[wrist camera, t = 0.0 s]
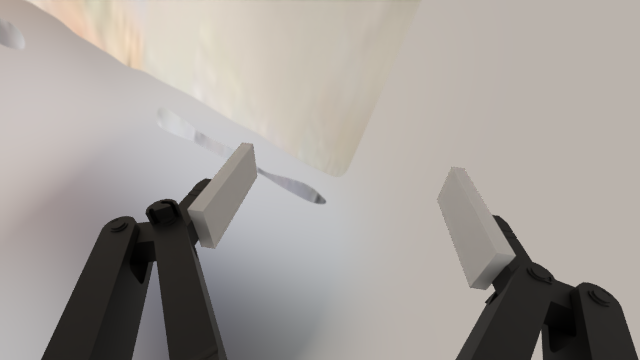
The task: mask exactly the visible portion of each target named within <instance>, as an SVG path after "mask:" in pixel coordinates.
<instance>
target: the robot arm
mask: <svg viewBox="0 0 640 360" xmlns="http://www.w3.org/2000/svg"><path fill="white" fill-rule="evenodd" d="M256 178H257V171H256V163H255V155H254V147H253V144H250V143H242V144H241V145H240V146H239V147H238V148H237V150H236V151H235V152H234V153H233V154H232V156H231V157H230V158H229V159H228V160H227V162H226V163H225V164H224V165H223V167H222V168H221V169H220V170H219V172H218V173H217V174H216V175H215V176H214V178H213V179H204V180H202V181H200V182H199V183H197V184H196V185H195V187H194V188H193V189H192V190H191V191H190V192H189V193H188V195H187V196H186V197H185V198H184V199H183V200H182V201H181V202H180V204H179V205H178V204H177V202H176V201H175V200H172V199H164V200H160V201H157V202H154V203H153V204H152V205H150V206H149V207H148V208H147V209H146V215H147V217H148V219H149V221H150V222H143V223H137V222H136V221H135V219H134V218H133V217H129V216H124V217H119V218H116V219H114V220H112V221H110V222H108V223H107V224H106V225H105V226H104V227H103V228H102V230H101V232H100V235H99V237H98V239H97V241H96V243H95V245H94V247H93V250H92V252H91V254H90V256H89V258H88V260H87V262H86V265H85V267H84V269H83V271H82V273H81V275H80V277H79V279H78V282H77V284H76V286H75V288H74V290H73V292H72V295H71V297H70V299H69V301H68V303H67V305H66V308H65V310H64V312H63V314H62V316H61V318H60V320H59V323H58V325H57V327H56V329H55V331H54V333H53V336H52V338H51V340H50V342H49V344H48V346H47V348H46V350H45V352H44V355H43V357H42V359H41V360H132V356H133V351H134V346H135V342H136V338H137V334H138V329H139V325H140V320H141V315H142V311H143V307H144V302H145V297H146V293H147V289H148V284H149V280H150V275H151V271H152V266H153V262H154V261H157V267H158V275H159V283H160V290H161V298H162V305H163V313H164V321H165V328H166V335H167V343H168V350H169V358H170V360H227V357H226V353H225V350H224V346H223V343H222V340H221V336H220V332H219V329H218V325H217V322H216V318H215V315H214V311H213V308H212V304H211V300H210V297H209V293H208V290H207V286H206V283H205V280H204V276H203V272H202V269H201V265H200V262H199V258H198V255H197V251H196V248H195V244H196V243H197V241H198V240H199V241H200V244H201V246H202V247H207V248H214V249H215V247H216V246H217V244H218V243H219V241H220V239H221V237H222V236H223V234H224V232H225V231H226V229H227V227H228V226H229V223H230V222H231V220H232V219H233V217H234V215H235V213H236V212H237V210H238V208H239V207H240V205H241V203H242V202H243V200H244V198H245V196H246V195H247V193H248V191H249V189H250V188H251V186H252V184H253V183H254V181H255V179H256ZM437 200H438V203H439V206H440V209H441V211H442V214H443V217H444V219H445V222H446V225H447V227H448V230H449V233H450V235H451V238H452V241H453V244H454V246H455V248H456V252H457V254H458V257H459V260H460V262H461V265H462V267H463V271H464V273H465V276H466V278H467V281H468V284H469V287H470V288H476V289H483V290H486V289H487V288H488V287H489V286H490V285H491V284H493V286H494V288H495V292H494V293H493V294H492V295H491V296H490V297H489V298H488V299H487V301H486V302H485V303H486V304H487V305H486V306H485V308H484V310H483V312H482V313H481V315H480V317H479V319H478V321H477V323H476V324H475V326H474V328H473V330H472V332H471V333H470V335H469V337H468V339H467V340H466V342H465V344H464V346H463V347H462V349H461V351H460V353H459V355H458V356H457V358H456V360H531V357H532V354H533V351H534V348H535V346H536V343H537V340H538V337H539V334H540V331H541V332H542V349H543V360H638V357H637V354H636V351H635V347H634V344H633V342H632V338H631V335H630V332H629V329H628V326H627V323H626V320H625V317H624V313H623V311H622V308H621V306H620V304H619V302H618V301H617V300H616V299H615V298H614V297H613V295H611V294H610V293H609V292H607V291H606V290H605V289H603V288H601V287H599V286H597V285H594V284H591V283H584V282H583V283H581V284H579V285H578V286H577V287H573V286H570V285H568V284H565V283H562V282H560V281H557V280H555V279H554V277H553V275H552V274H551V273H550V272H549V271H548V270H547V269H545V268H544V267H542V266H541V265H539V264H536V263H534V262H532V261H531V259H530V258H529V256H528V254H527V253H526V251H525V250H524V248H523V247H522V245H521V244H520V242H519V241H518V239H517V237H516V236H515V234H514V233H513V231H512V230H511V228H510V226H509V225H508V223H507V222H505V221H504V220H503V219H502V218H501V217H500V216H495V215H492V214H491V213H490V211H489V210H488V208H487V206H486V204H485V203H484V201H483V199H482V198H481V196H480V194H479V193H478V191H477V189H476V188H475V186H474V184H473V182H472V181H471V179H470V177H469V176H468V174H467V172H466V171H465V169H464V168H456V167H452V168H451V170H450V172H449V174H448V176H447V179H446V181H445V184H444V185H443V187H442V190H441V192H440V194H439V196H438V198H437Z"/></svg>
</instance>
